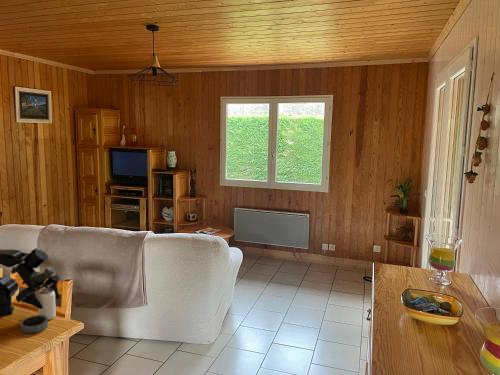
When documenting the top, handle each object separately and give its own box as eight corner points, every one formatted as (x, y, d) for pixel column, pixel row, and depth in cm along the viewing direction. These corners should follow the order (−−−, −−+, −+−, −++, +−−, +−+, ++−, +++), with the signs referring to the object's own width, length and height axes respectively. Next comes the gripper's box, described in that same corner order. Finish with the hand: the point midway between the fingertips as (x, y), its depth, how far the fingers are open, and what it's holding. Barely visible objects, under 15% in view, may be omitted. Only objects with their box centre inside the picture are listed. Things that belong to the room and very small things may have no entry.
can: (48, 322, 156) (47, 295, 154) (35, 319, 157) (33, 293, 156) (59, 314, 162) (58, 288, 161) (46, 312, 164) (45, 286, 162)
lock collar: (22, 324, 153) (22, 317, 153) (48, 320, 157) (48, 314, 157) (19, 335, 145) (19, 328, 145) (46, 331, 149) (46, 324, 148)
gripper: (20, 271, 148) (43, 302, 147) (56, 257, 166) (77, 284, 165) (5, 287, 152) (28, 317, 150) (42, 271, 169) (63, 298, 168)
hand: (50, 303), depth 158 cm, fingers open, 9 cm apart
